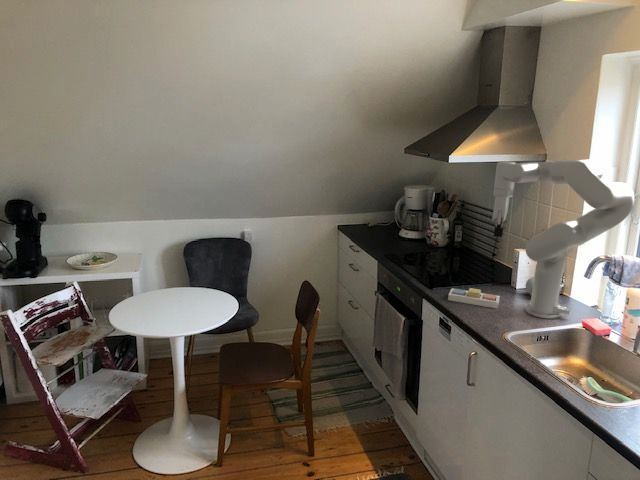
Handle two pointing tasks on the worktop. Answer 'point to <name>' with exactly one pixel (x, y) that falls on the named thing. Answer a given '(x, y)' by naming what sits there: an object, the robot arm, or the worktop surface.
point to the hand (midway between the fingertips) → (498, 236)
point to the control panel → (474, 299)
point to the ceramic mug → (530, 285)
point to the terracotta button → (489, 297)
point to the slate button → (459, 292)
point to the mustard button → (474, 293)
